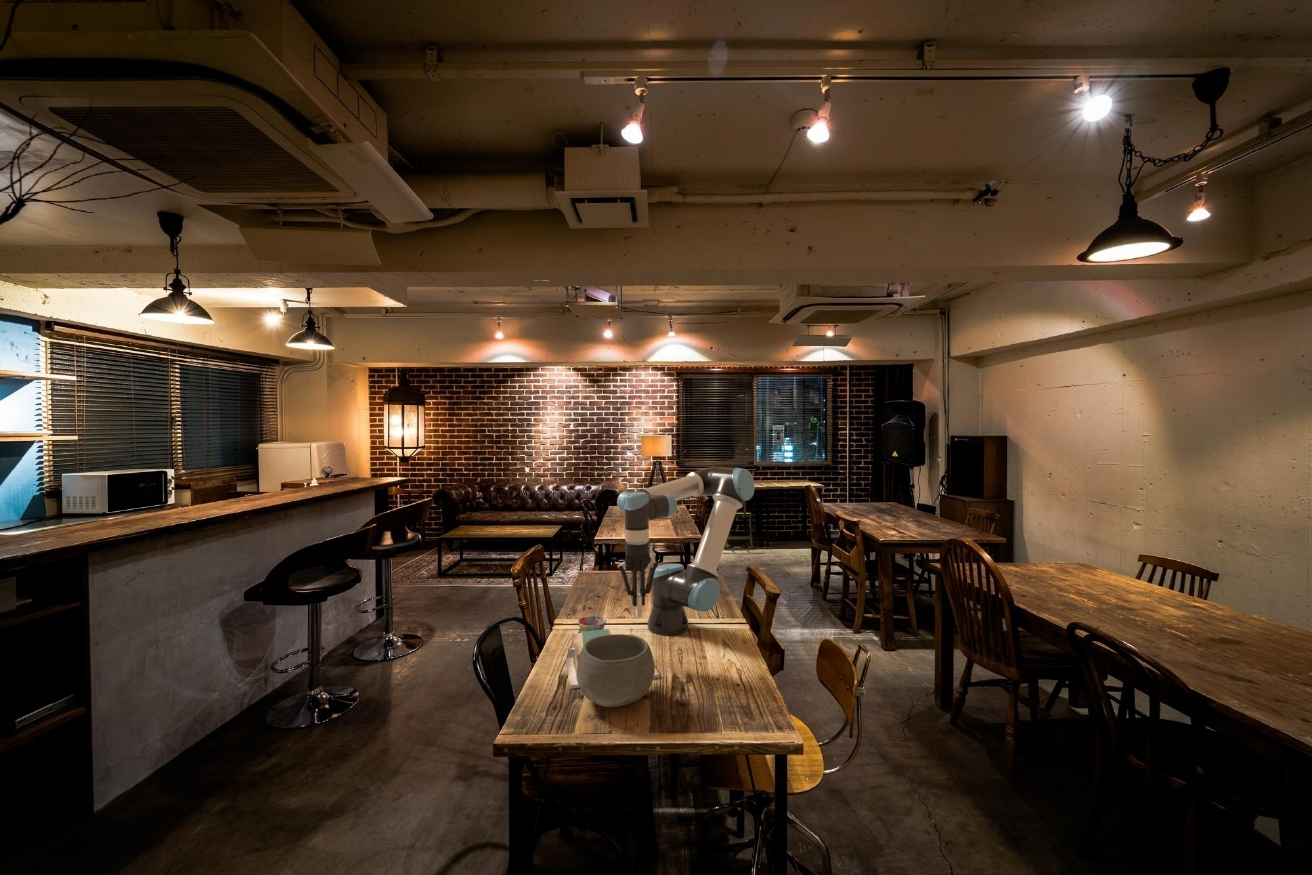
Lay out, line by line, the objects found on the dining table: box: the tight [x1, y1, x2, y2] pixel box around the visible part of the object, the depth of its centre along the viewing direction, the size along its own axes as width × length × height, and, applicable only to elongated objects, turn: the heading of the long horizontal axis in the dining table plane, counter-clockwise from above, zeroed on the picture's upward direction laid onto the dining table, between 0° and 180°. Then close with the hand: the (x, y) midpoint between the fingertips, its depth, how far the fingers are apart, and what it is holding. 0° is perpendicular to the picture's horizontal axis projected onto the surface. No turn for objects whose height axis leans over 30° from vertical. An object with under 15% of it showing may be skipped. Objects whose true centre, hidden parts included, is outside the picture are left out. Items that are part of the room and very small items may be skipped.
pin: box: [567, 647, 574, 658], centre depth 161 cm, size 15×5×5 cm, turn 104°
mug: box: [577, 615, 607, 633], centre depth 172 cm, size 12×9×11 cm
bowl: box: [577, 633, 656, 708], centre depth 141 cm, size 21×21×15 cm
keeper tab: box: [582, 628, 610, 646], centre depth 153 cm, size 8×6×1 cm
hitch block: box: [565, 629, 660, 689], centre depth 159 cm, size 26×18×9 cm
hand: (638, 615), depth 164 cm, fingers closed
